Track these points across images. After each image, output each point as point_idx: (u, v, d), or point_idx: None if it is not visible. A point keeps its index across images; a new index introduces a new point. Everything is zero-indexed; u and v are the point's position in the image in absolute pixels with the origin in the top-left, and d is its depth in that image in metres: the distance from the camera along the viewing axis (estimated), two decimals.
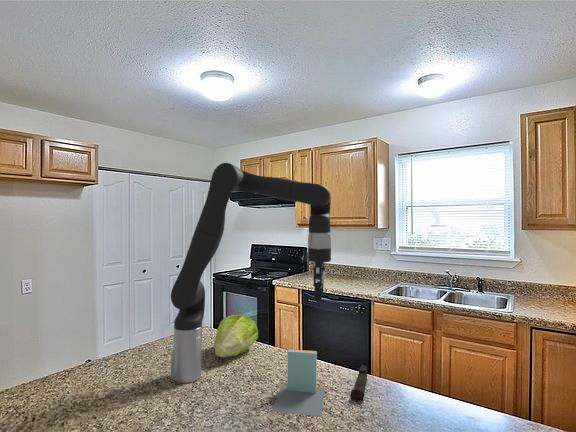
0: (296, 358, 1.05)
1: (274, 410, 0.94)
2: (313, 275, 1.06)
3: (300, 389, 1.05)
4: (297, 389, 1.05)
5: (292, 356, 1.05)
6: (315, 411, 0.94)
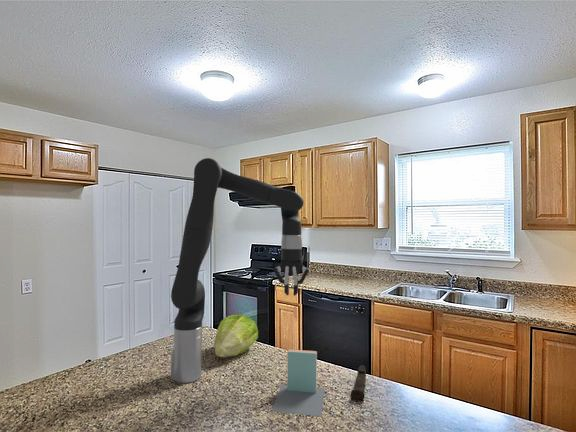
0: (296, 358, 1.05)
1: (274, 410, 0.94)
2: (296, 274, 1.20)
3: (300, 389, 1.05)
4: (297, 389, 1.05)
5: (292, 356, 1.05)
6: (315, 411, 0.94)
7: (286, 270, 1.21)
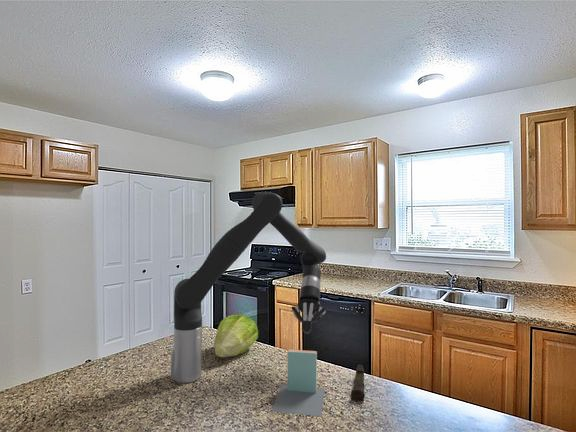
0: (296, 358, 1.05)
1: (274, 410, 0.94)
2: (312, 311, 1.20)
3: (300, 389, 1.05)
4: (297, 389, 1.05)
5: (292, 356, 1.05)
6: (315, 411, 0.94)
7: (304, 306, 1.22)
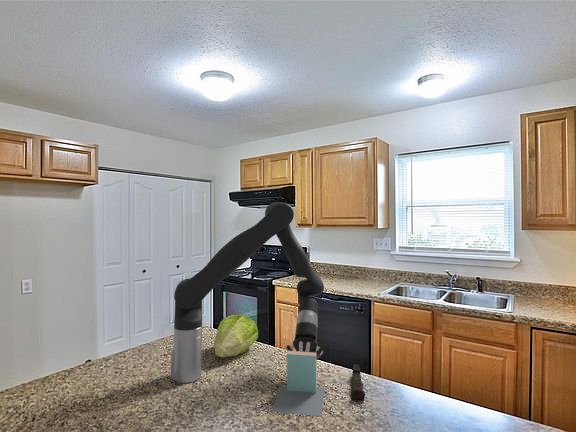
0: (295, 360, 1.04)
1: (274, 410, 0.94)
2: (309, 351, 1.11)
3: (300, 389, 1.05)
4: (297, 389, 1.05)
5: (291, 358, 1.04)
6: (315, 411, 0.94)
7: (300, 346, 1.12)
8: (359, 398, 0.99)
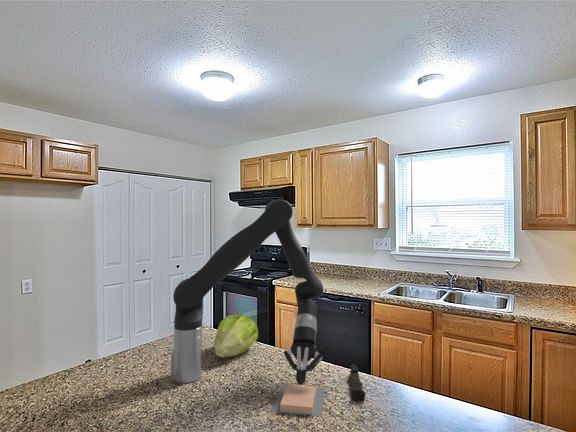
0: None
1: (274, 410, 0.94)
2: (307, 357, 1.06)
3: None
4: None
5: None
6: (315, 411, 0.94)
7: (298, 351, 1.07)
8: (359, 398, 0.99)
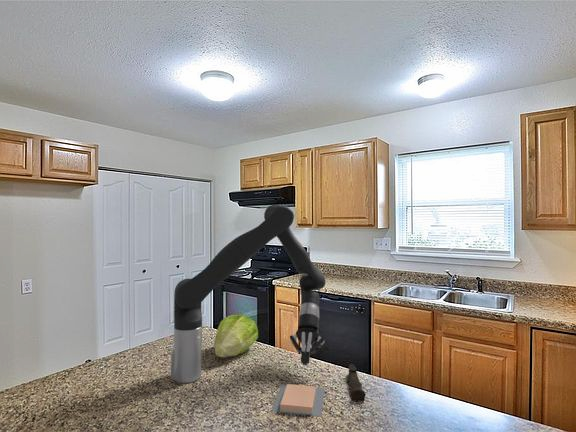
0: None
1: (274, 410, 0.94)
2: (311, 341, 1.18)
3: None
4: None
5: None
6: (315, 411, 0.94)
7: (302, 336, 1.19)
8: (360, 398, 0.99)
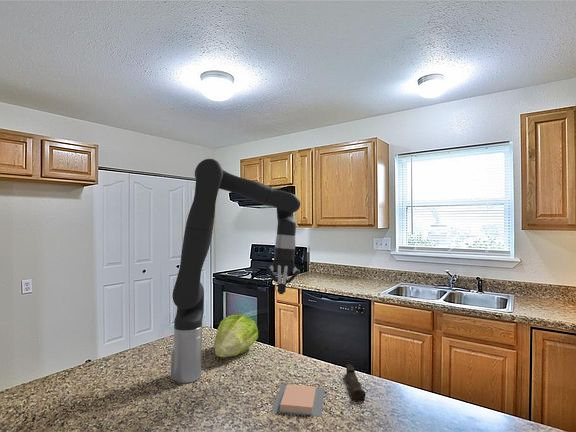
0: None
1: (274, 410, 0.94)
2: (286, 274, 1.24)
3: None
4: None
5: None
6: (315, 411, 0.94)
7: (278, 269, 1.24)
8: (360, 398, 0.99)
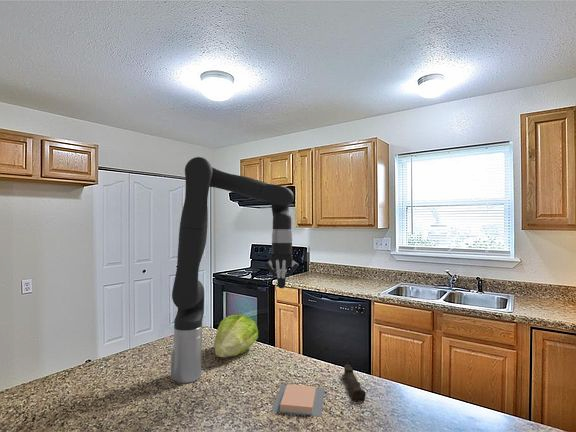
0: None
1: (274, 410, 0.94)
2: (285, 268, 1.23)
3: None
4: None
5: None
6: (315, 411, 0.94)
7: (277, 264, 1.23)
8: (360, 398, 0.99)
